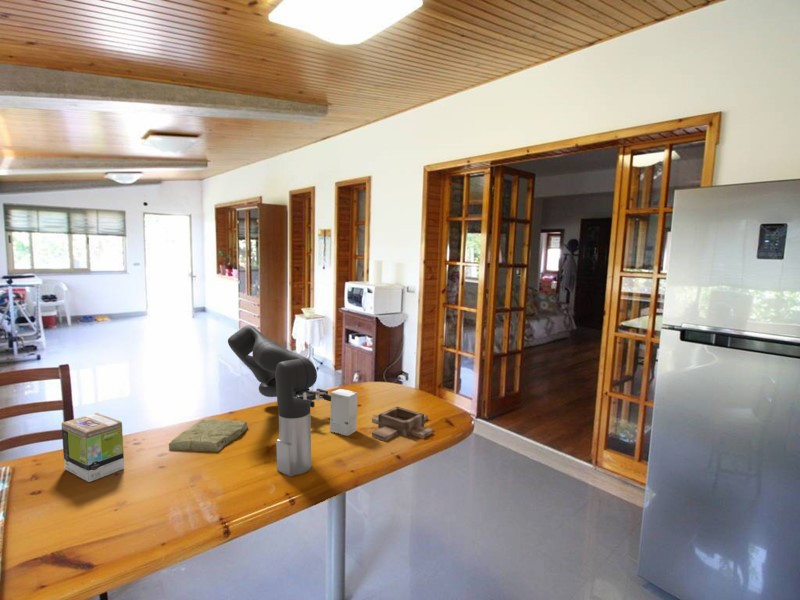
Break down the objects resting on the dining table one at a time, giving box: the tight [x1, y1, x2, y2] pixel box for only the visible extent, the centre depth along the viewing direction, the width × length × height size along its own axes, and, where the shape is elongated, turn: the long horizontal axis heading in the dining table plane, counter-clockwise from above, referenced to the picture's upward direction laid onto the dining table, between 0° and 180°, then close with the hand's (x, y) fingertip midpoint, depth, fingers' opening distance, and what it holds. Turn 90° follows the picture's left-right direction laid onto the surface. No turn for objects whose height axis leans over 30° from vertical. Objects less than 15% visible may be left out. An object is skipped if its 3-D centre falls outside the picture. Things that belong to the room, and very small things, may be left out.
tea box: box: [61, 412, 125, 483], centre depth 127 cm, size 15×10×15 cm
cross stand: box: [371, 406, 433, 442], centre depth 160 cm, size 26×24×5 cm
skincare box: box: [329, 388, 359, 437], centre depth 155 cm, size 8×6×15 cm
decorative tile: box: [168, 418, 249, 453], centre depth 150 cm, size 19×20×4 cm
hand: (322, 401), depth 162 cm, fingers open, 8 cm apart
